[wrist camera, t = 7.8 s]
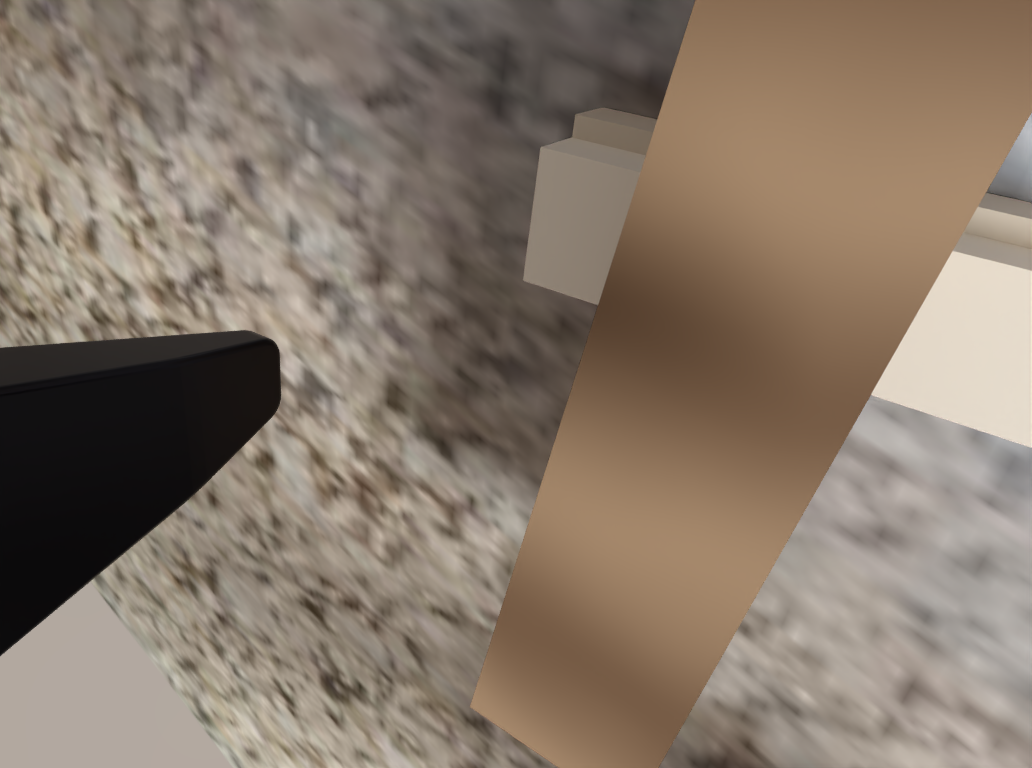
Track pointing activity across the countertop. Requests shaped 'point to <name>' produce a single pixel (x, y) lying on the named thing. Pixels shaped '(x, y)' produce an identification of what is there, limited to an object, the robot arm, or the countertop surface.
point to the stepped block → (927, 343)
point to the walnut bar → (741, 342)
